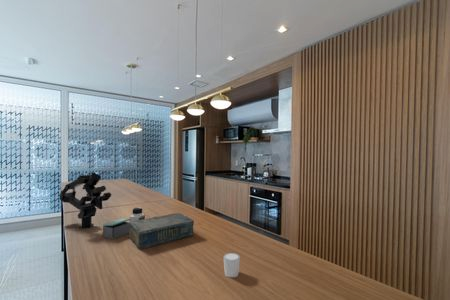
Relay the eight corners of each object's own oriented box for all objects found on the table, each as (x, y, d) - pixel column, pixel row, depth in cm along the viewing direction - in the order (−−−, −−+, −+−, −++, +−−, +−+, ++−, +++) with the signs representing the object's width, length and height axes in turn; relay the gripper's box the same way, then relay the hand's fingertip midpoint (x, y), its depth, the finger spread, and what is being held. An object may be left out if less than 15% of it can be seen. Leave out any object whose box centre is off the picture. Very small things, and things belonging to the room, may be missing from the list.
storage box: (102, 236, 128) (103, 226, 128) (120, 230, 138) (120, 220, 139) (112, 239, 124) (113, 228, 124) (130, 232, 134) (130, 222, 135)
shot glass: (222, 269, 92) (222, 252, 92) (238, 268, 93) (238, 252, 93) (224, 278, 86) (224, 260, 86) (241, 277, 86) (241, 260, 86)
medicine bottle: (138, 228, 143) (139, 209, 143) (129, 227, 144) (129, 209, 144) (144, 224, 150) (145, 207, 150) (135, 223, 151) (135, 206, 151)
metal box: (194, 236, 129) (195, 220, 129) (138, 251, 109) (139, 231, 109) (179, 227, 146) (179, 212, 146) (128, 238, 126) (128, 221, 126)
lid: (102, 225, 128) (102, 224, 128) (120, 220, 139) (120, 218, 139) (112, 225, 124) (112, 224, 124) (130, 219, 135) (130, 218, 135)
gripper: (81, 183, 132) (92, 203, 127) (110, 180, 149) (120, 198, 144) (74, 195, 136) (84, 215, 131) (102, 191, 152) (112, 208, 147)
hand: (101, 208), depth 138 cm, fingers closed
